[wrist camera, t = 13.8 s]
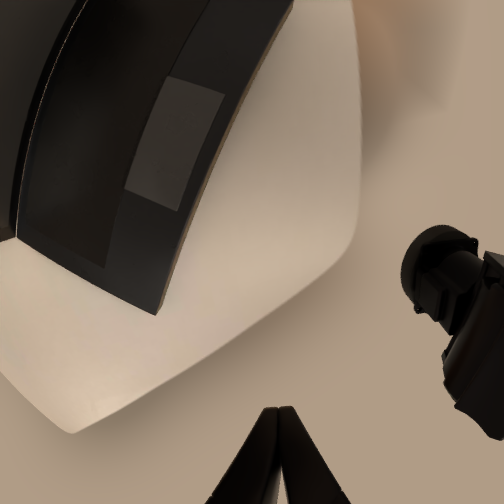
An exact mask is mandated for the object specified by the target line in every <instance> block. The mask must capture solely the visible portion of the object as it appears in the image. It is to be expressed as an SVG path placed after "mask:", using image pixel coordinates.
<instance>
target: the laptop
mask: <svg viewBox="0 0 504 504" xmlns="http://www.w3.org/2000/svg"><path fill="white" fill-rule="evenodd" d="M293 2H294V0H88V1H87V3H86V4H85V6H84V8H83V9H82V11H81V13H80V15H79V17H78V18H77V20H76V22H75V24H74V26H73V28H72V30H71V32H70V34H69V36H68V38H67V40H66V42H65V44H64V46H63V48H62V51H61V53H60V55H59V57H58V60H57V62H56V64H55V67H54V69H53V72H52V74H51V77H50V80H49V82H48V85H47V88H46V91H45V93H44V96H43V99H42V102H41V105H40V109H39V112H38V115H37V119H36V122H35V126H34V130H33V133H32V137H31V142H30V146H29V150H28V155H27V160H26V165H25V170H24V176H23V182H22V188H21V195H20V203H19V212H18V223H17V238H18V239H20V240H21V241H23V242H24V243H26V244H27V245H29V246H30V247H32V248H33V249H35V250H36V251H38V252H39V253H41V254H43V255H44V256H46V257H47V258H49V259H51V260H52V261H54V262H56V263H57V264H59V265H60V266H62V267H64V268H66V269H67V270H69V271H71V272H72V273H74V274H76V275H78V276H79V277H81V278H83V279H85V280H86V281H88V282H90V283H92V284H94V285H95V286H97V287H99V288H101V289H103V290H105V291H106V292H108V293H110V294H112V295H114V296H116V297H118V298H120V299H122V300H124V301H126V302H128V303H130V304H132V305H134V306H136V307H138V308H140V309H142V310H144V311H146V312H148V313H150V314H152V315H154V316H156V314H157V313H158V311H159V310H160V308H161V307H162V304H163V301H164V298H165V295H166V292H167V289H168V286H169V283H170V280H171V277H172V274H173V271H174V268H175V265H176V263H177V260H178V257H179V254H180V252H181V249H182V246H183V243H184V241H185V238H186V235H187V233H188V230H189V227H190V225H191V222H192V219H193V217H194V214H195V212H196V209H197V207H198V204H199V202H200V199H201V197H202V194H203V192H204V189H205V187H206V184H207V182H208V179H209V177H210V175H211V172H212V170H213V168H214V165H215V163H216V161H217V158H218V156H219V154H220V151H221V149H222V147H223V144H224V142H225V140H226V138H227V136H228V133H229V131H230V129H231V127H232V125H233V122H234V120H235V118H236V116H237V114H238V112H239V109H240V107H241V105H242V103H243V101H244V99H245V97H246V95H247V93H248V91H249V89H250V87H251V85H252V83H253V81H254V79H255V77H256V75H257V73H258V71H259V69H260V67H261V65H262V63H263V61H264V59H265V57H266V55H267V53H268V51H269V50H270V48H271V46H272V44H273V42H274V40H275V38H276V37H277V35H278V33H279V31H280V29H281V27H282V26H283V24H284V22H285V20H286V19H287V17H288V15H289V13H290V12H291V10H292V8H293Z"/></svg>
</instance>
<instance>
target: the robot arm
mask: <svg viewBox="0 0 504 504" xmlns="http://www.w3.org/2000/svg"><path fill="white" fill-rule="evenodd" d="M473 243H474V245H473ZM478 245H479V241H478V239H476V238H474V237H471V238H463V239H454V240H446V241H437V242H429V243H423V244H422V245H421V247H420V254H419V266H418V270H417V273H416V282H415V291H414V297H415V301H414V311H415V313H416V314H422V313H428V315H429V316H430V317H431V318H432V319H433V321H434V322H439V323H440V324H441V326H442V327H443V328H444V330H445V331H446V332H447V333H448V335H450V336H451V335H453V337H452V339H451V341H450V343H449V345H448V347H447V349H446V350H444V352H443V354H442V356H441V357H442V361H443V372H444V377H445V380H444V382H443V383H444V386H445V388H446V390H447V391H448V393H449V394H450V396H451V397H452V399H453V400H454V401H455V402H456V404H455V405H454V407H455V409H457V410H459V411H461V412H463V413H465V414H467V415H468V416H469V417H471V418H472V419H473V420H474V421H475V422H476V423H477V424H478V425H479V426H480V427H481V428H482V429H483V431H484V432H485V433H486V434H487V436H489V437H490V438H493V439H496V440H499V441H502V440H503V439H504V255H500V254H496V253H493V252H489V251H485V253H484V257H483V259H484V261H483V260H481V259H480V258H478V257H477V253H478ZM425 248H427V250H426V251H424V250H425ZM419 307H420V308H419ZM418 308H419V309H418ZM281 466H282V473H283V480H284V485H285V491H286V497H287V502H288V504H351V503H350V501H349V500H348V498H347V497H346V495H345V494H344V492H343V491H341V487H340V486H339V484H338V482H337V481H336V479H335V477H334V476H333V474H332V473H331V471H330V470H329V468H328V466H327V464H326V463H325V461H324V459H323V458H322V456H321V454H320V453H319V451H318V449H317V448H316V446H315V444H314V442H313V441H312V439H311V438H310V436H309V434H308V432H307V430H306V429H305V427H304V425H303V423H302V422H301V420H300V418H299V416H298V415H297V413H296V411H295V409H294V408H293V407H292V406H283V407H279V409H278V408H277V407H266V408H264V409H263V411H262V412H261V414H260V416H259V418H258V420H257V421H256V423H255V425H254V427H253V428H252V430H251V432H250V434H249V435H248V437H247V439H246V440H245V442H244V444H243V446H242V447H241V449H240V450H239V452H238V454H237V455H236V457H235V458H234V460H233V462H232V464H231V465H230V466H229V468H228V470H227V471H226V473H225V474H224V476H223V477H222V479H221V480H220V482H219V484H218V485H217V487H216V488H215V490H214V491H213V493H212V496H210V497H209V498H208V500H207V501H206V503H205V504H277V499H278V492H279V485H280V478H281Z"/></svg>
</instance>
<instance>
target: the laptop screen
mask: <svg viewBox="0 0 504 504" xmlns="http://www.w3.org/2000/svg"><path fill="white" fill-rule="evenodd" d="M85 2H86V0H0V242H2V241H5V240H8V239H11V238H14V237H16V222H17V211H18V202H19V194H20V187H21V180H22V174H23V169H24V163H25V158H26V154H27V149H28V145H29V140H30V136H31V132H32V129H33V125H34V121H35V118H36V114H37V111H38V108H39V105H40V101H41V98H42V95H43V92H44V90H45V87H46V84H47V81H48V79H49V76H50V73H51V71H52V68H53V66H54V64H55V61H56V59H57V56H58V54H59V52H60V50H61V48H62V45H63V43H64V41H65V39H66V37H67V35H68V33H69V31H70V29H71V27H72V25H73V23H74V21H75V19H76V18H77V16H78V14H79V12H80V10H81V9H82V7H83V5H84V4H85Z"/></svg>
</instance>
